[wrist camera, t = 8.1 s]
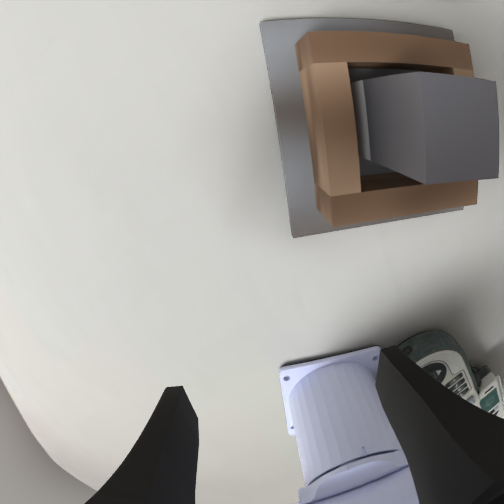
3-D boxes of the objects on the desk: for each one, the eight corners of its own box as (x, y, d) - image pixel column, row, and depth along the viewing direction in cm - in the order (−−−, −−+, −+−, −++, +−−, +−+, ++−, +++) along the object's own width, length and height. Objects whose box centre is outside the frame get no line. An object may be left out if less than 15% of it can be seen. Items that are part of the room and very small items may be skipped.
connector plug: (416, 150, 16) (498, 178, 10) (355, 154, 16) (425, 184, 10) (411, 83, 15) (495, 81, 8) (347, 82, 15) (418, 71, 8)
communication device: (459, 285, 22) (524, 349, 14) (493, 394, 30) (524, 438, 22) (344, 373, 25) (377, 460, 16) (422, 446, 33) (444, 495, 25)
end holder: (459, 207, 18) (490, 225, 15) (291, 234, 19) (304, 261, 15) (447, 31, 13) (481, 24, 10) (259, 24, 14) (266, 3, 10)
